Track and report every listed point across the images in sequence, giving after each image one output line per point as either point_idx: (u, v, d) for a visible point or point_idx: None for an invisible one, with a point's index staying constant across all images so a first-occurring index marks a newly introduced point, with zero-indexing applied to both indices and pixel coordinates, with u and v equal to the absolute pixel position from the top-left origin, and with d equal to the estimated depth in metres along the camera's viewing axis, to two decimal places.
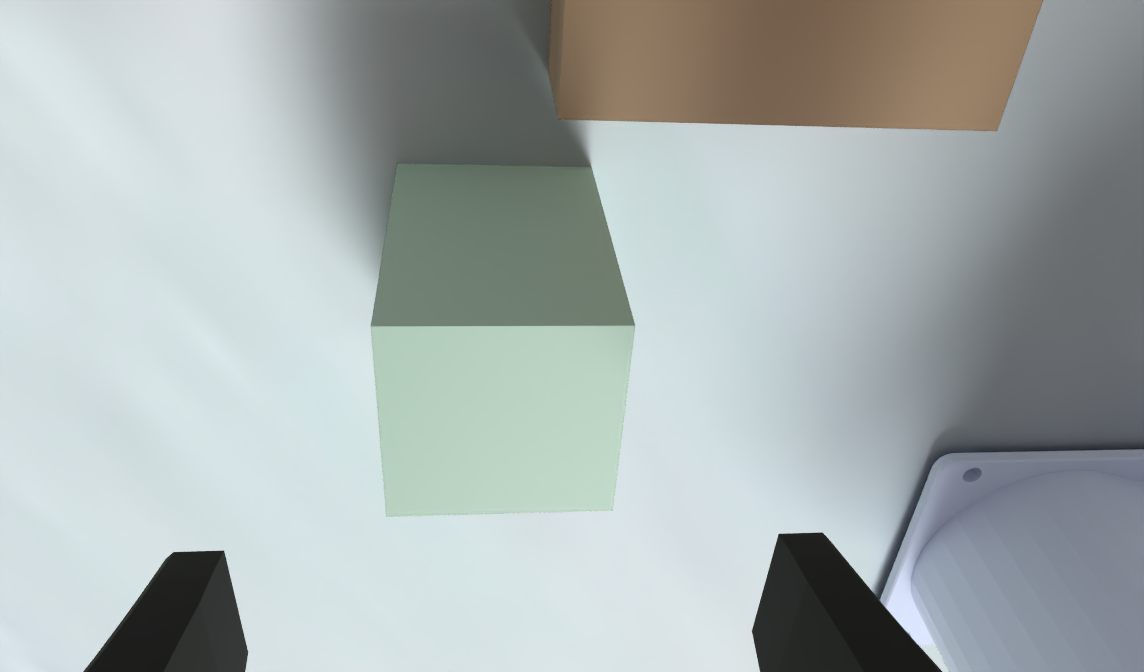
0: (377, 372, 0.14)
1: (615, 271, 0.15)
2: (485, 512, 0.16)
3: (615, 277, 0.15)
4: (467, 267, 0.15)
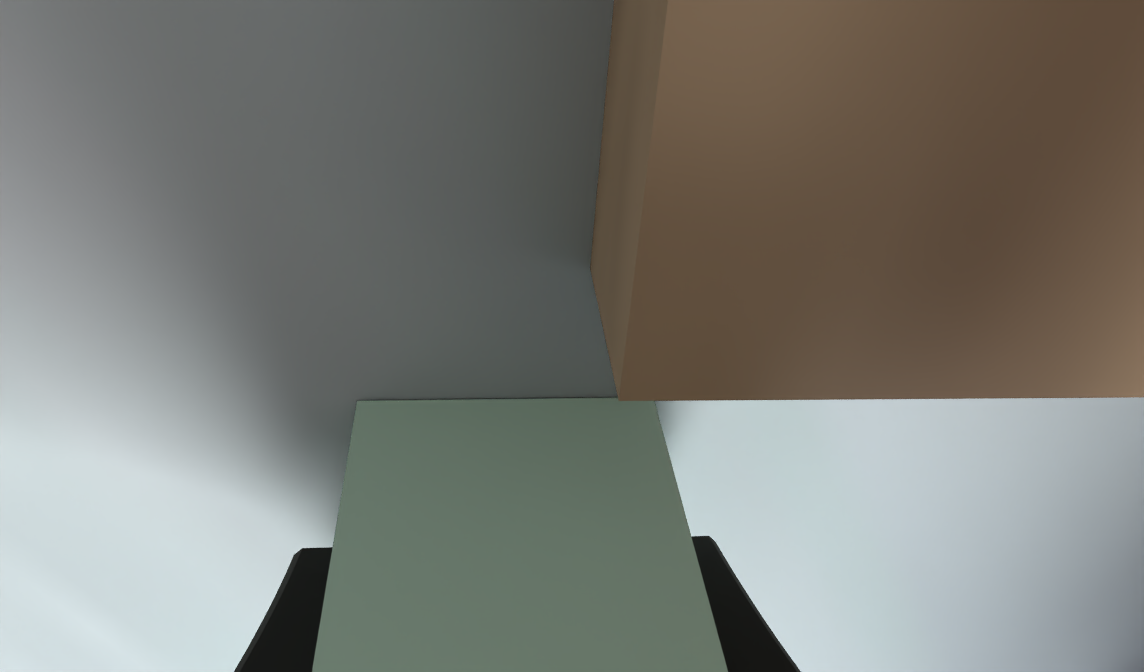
0: None
1: None
2: None
3: None
4: None
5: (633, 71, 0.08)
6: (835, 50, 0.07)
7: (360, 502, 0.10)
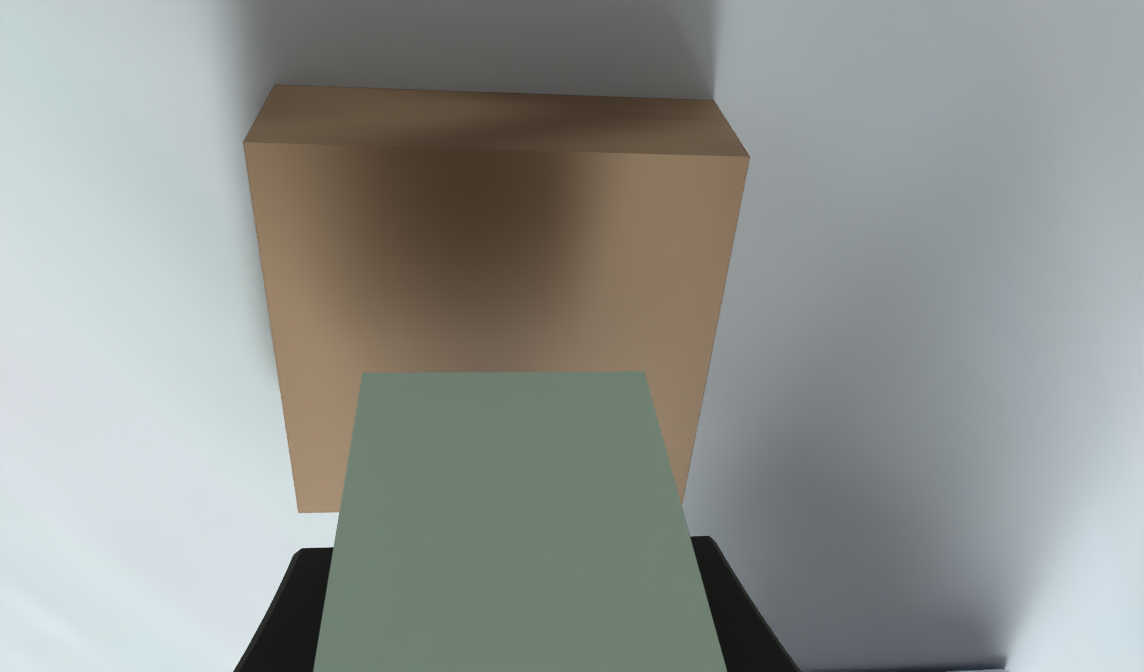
0: None
1: (705, 619, 0.09)
2: None
3: (706, 636, 0.09)
4: (465, 620, 0.09)
5: None
6: (356, 375, 0.16)
7: (366, 464, 0.11)
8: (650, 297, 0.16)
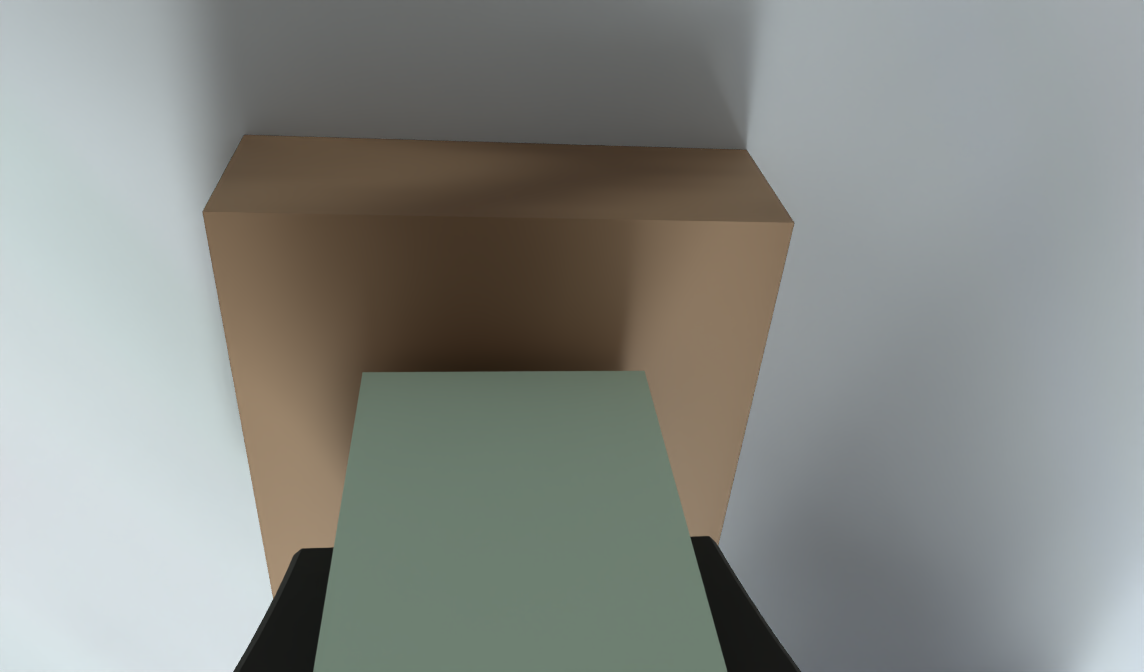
0: None
1: (705, 618, 0.09)
2: None
3: (706, 634, 0.09)
4: (465, 619, 0.09)
5: None
6: (338, 465, 0.14)
7: (366, 463, 0.11)
8: (675, 378, 0.14)
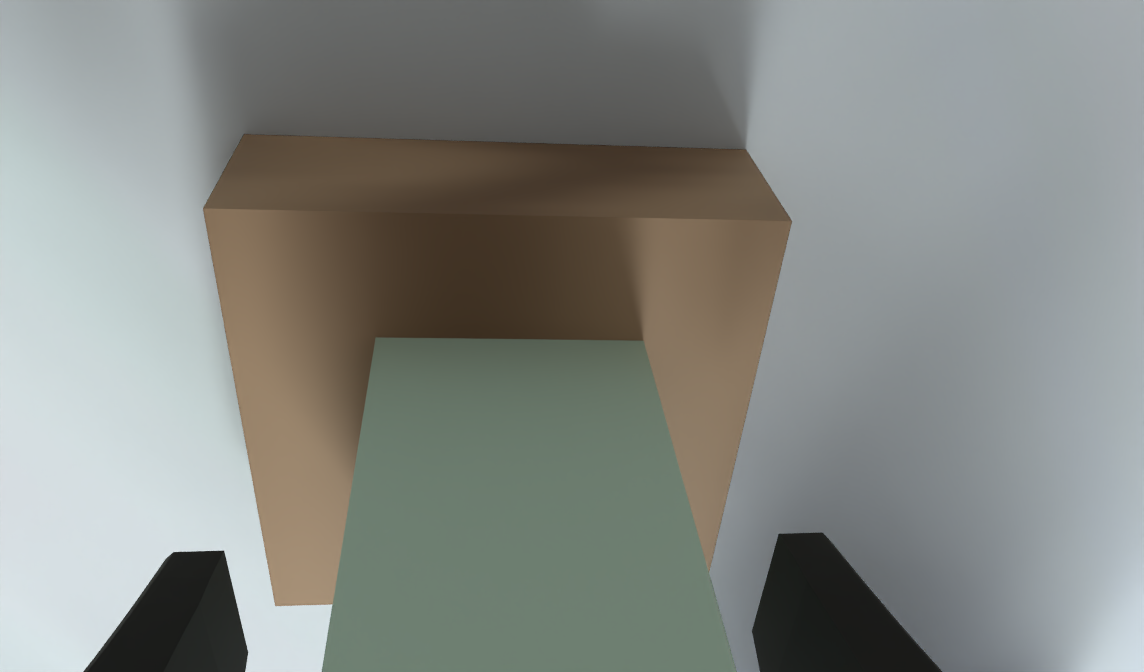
0: None
1: (698, 561, 0.10)
2: None
3: (699, 574, 0.10)
4: (474, 557, 0.10)
5: None
6: (338, 460, 0.14)
7: (380, 418, 0.11)
8: (673, 374, 0.14)
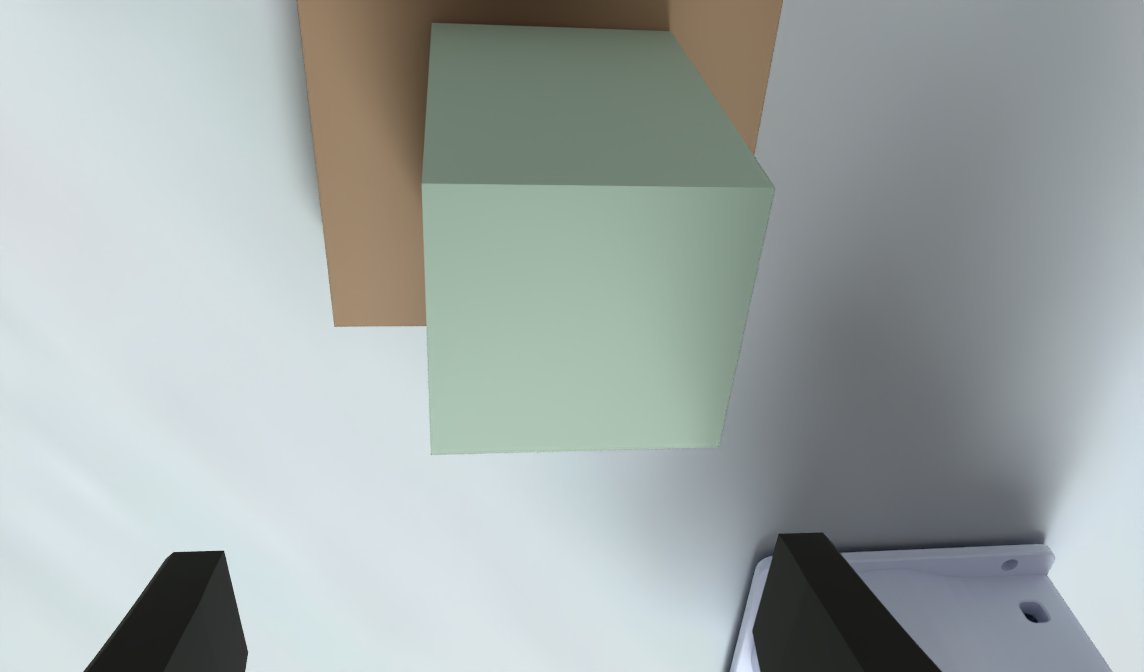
0: (428, 252, 0.10)
1: (731, 131, 0.11)
2: (557, 449, 0.12)
3: (733, 137, 0.11)
4: (540, 124, 0.11)
5: None
6: (395, 163, 0.16)
7: (445, 59, 0.13)
8: None
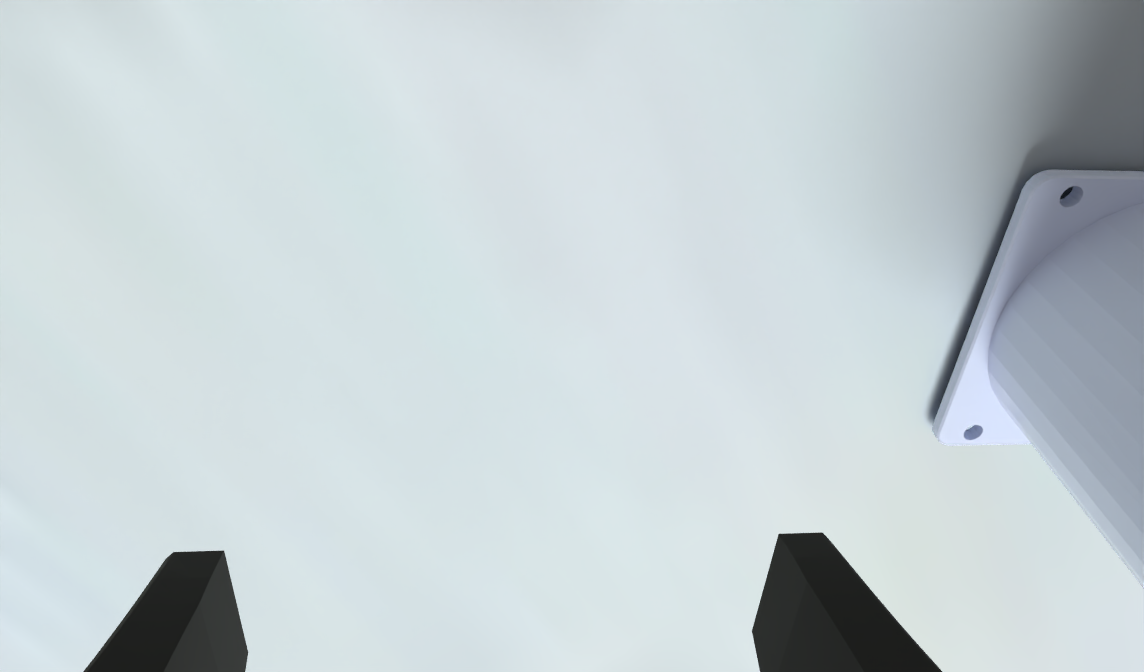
0: None
1: None
2: None
3: None
4: None
5: None
6: None
7: None
8: None
